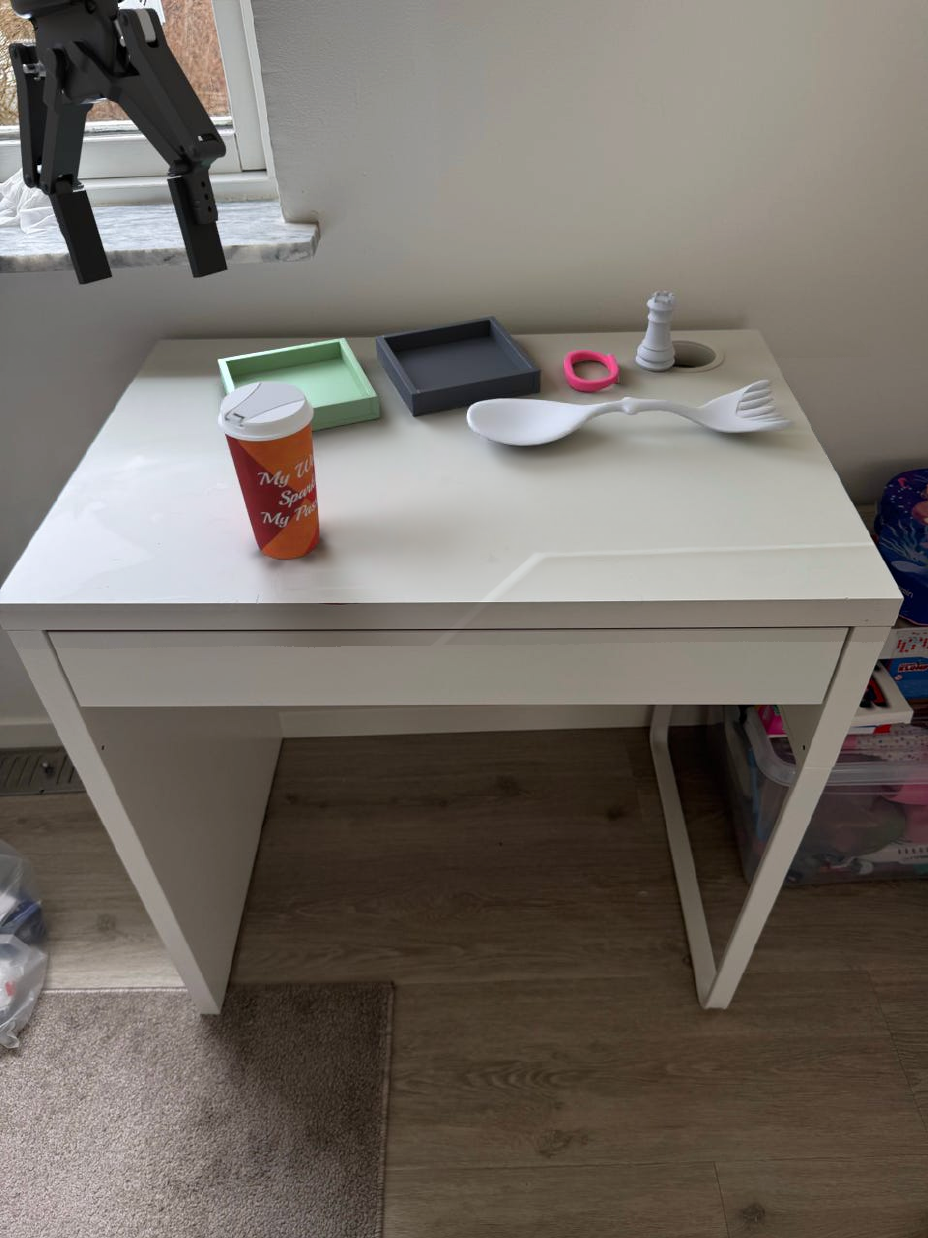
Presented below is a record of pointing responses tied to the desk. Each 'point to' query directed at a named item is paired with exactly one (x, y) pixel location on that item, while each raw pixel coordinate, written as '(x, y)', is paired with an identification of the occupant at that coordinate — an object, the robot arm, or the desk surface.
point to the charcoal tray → (456, 365)
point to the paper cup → (274, 464)
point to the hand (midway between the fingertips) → (150, 277)
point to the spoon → (556, 419)
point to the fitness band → (586, 384)
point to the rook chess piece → (658, 334)
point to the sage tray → (311, 379)
